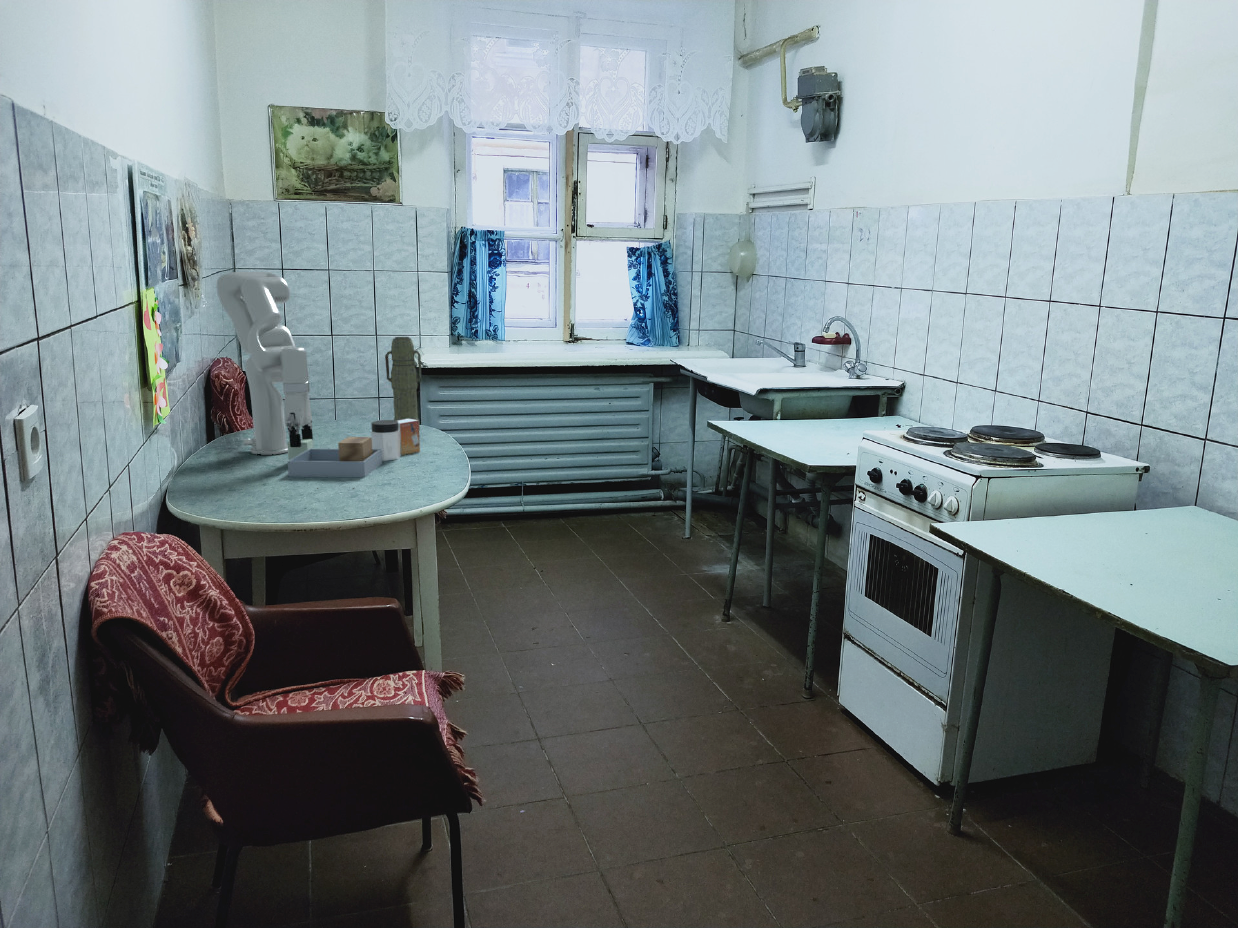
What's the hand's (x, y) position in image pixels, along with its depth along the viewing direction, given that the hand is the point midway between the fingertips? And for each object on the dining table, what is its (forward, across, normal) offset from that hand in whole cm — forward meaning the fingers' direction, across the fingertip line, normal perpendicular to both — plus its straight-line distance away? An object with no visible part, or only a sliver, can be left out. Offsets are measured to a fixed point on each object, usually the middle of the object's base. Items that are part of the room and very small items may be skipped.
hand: (301, 444), depth 278 cm
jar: (+7, -6, +24) cm, 26 cm away
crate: (+7, +11, +14) cm, 19 cm away
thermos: (+6, -42, +21) cm, 47 cm away
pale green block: (+6, -1, -1) cm, 6 cm away
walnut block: (+6, +11, +20) cm, 24 cm away
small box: (+7, -17, +27) cm, 33 cm away
